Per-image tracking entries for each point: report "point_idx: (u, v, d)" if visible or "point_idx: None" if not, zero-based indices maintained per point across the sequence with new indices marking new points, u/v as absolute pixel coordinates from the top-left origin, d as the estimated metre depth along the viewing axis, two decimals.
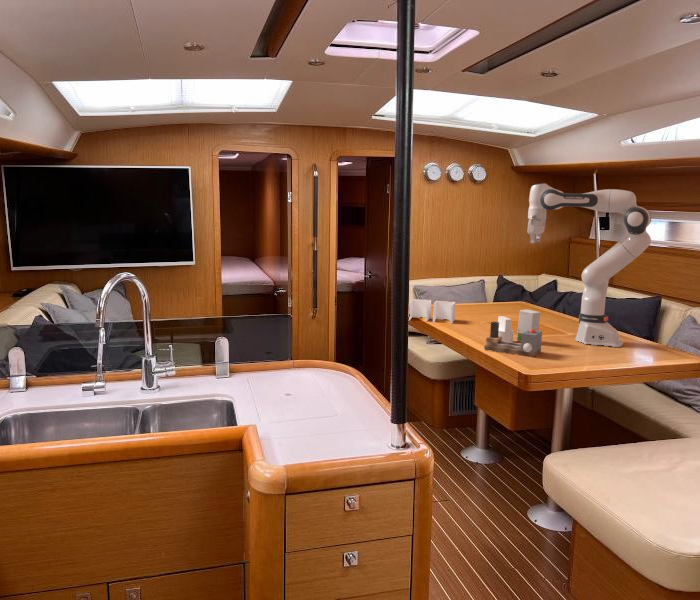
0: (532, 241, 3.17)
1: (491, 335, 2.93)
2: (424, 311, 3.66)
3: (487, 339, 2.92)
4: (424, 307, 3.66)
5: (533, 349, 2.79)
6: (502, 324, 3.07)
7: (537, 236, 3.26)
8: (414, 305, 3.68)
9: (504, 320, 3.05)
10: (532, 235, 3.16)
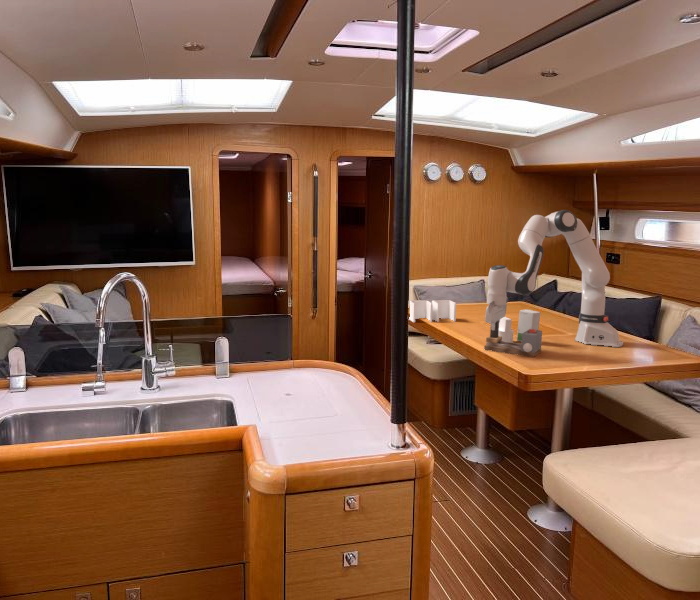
0: (492, 328, 2.91)
1: (491, 335, 2.93)
2: (420, 312, 3.64)
3: (487, 339, 2.92)
4: (420, 308, 3.64)
5: (533, 349, 2.79)
6: (502, 324, 3.07)
7: None
8: None
9: (504, 320, 3.05)
10: (492, 322, 2.89)
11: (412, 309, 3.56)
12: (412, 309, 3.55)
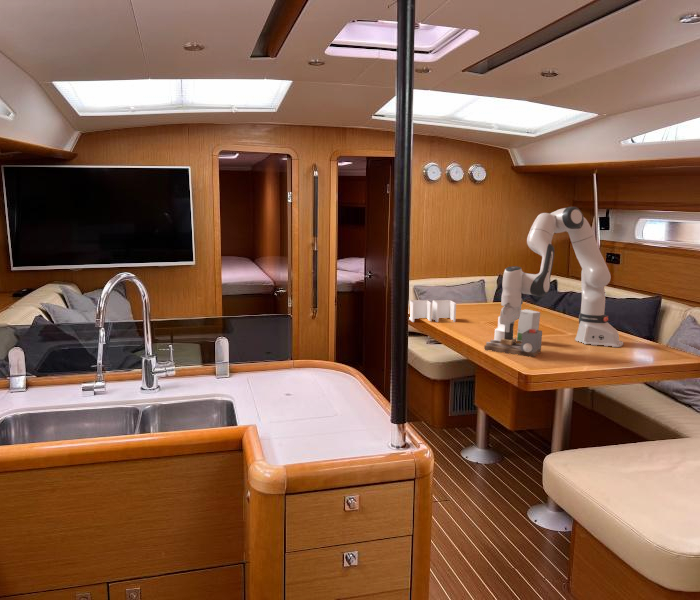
0: (507, 330, 2.87)
1: (505, 337, 2.89)
2: (421, 311, 3.64)
3: (501, 341, 2.88)
4: (421, 307, 3.64)
5: (533, 349, 2.79)
6: (502, 324, 3.07)
7: None
8: None
9: None
10: None
11: (411, 309, 3.56)
12: (411, 309, 3.55)
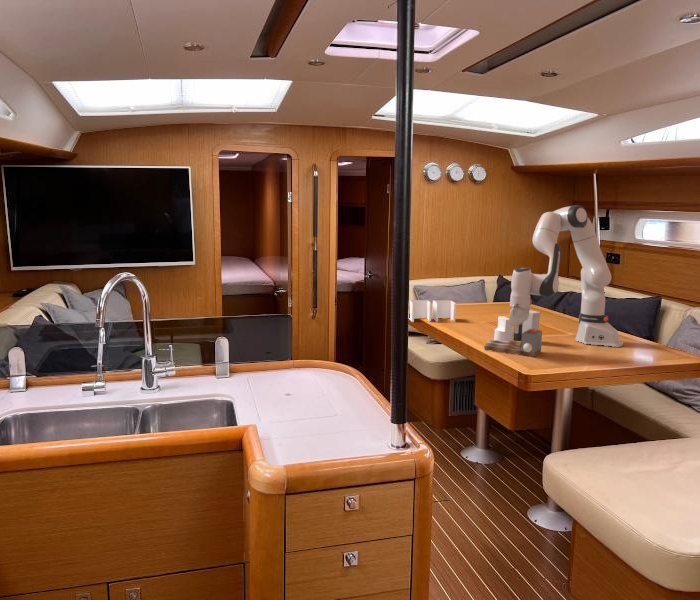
0: (516, 331, 2.85)
1: (514, 338, 2.87)
2: (421, 311, 3.65)
3: (510, 342, 2.86)
4: (421, 307, 3.64)
5: (533, 349, 2.79)
6: (502, 324, 3.07)
7: None
8: None
9: (504, 320, 3.05)
10: (516, 325, 2.84)
11: (411, 309, 3.57)
12: (411, 309, 3.56)
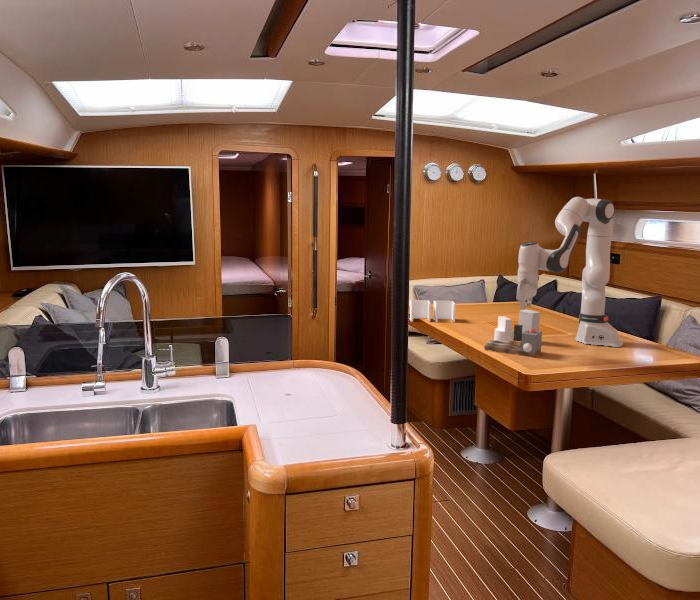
0: (522, 308, 2.80)
1: (514, 338, 2.87)
2: (421, 311, 3.65)
3: (510, 342, 2.86)
4: (421, 307, 3.65)
5: (533, 349, 2.79)
6: (502, 324, 3.07)
7: (528, 300, 2.89)
8: None
9: (504, 320, 3.05)
10: (522, 301, 2.78)
11: (410, 309, 3.58)
12: None
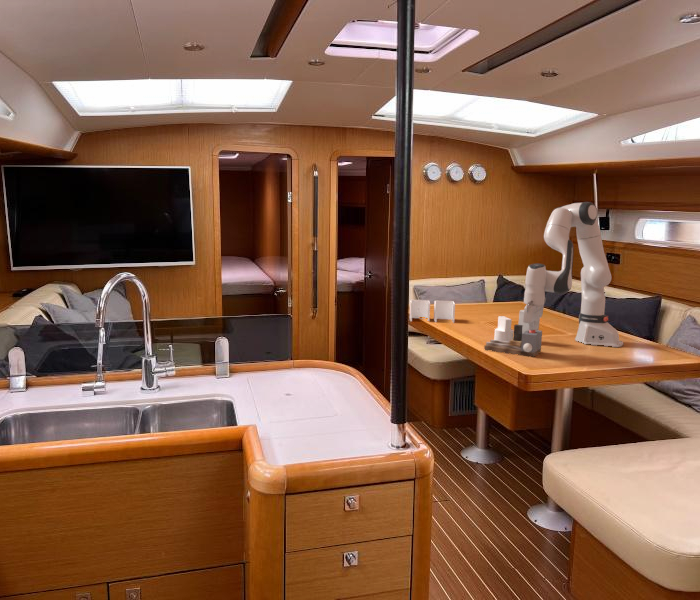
0: (531, 328, 2.83)
1: (514, 338, 2.87)
2: (422, 311, 3.65)
3: (510, 342, 2.86)
4: (422, 307, 3.65)
5: (533, 349, 2.79)
6: (502, 324, 3.07)
7: None
8: None
9: (504, 320, 3.05)
10: None
11: None
12: (410, 308, 3.58)
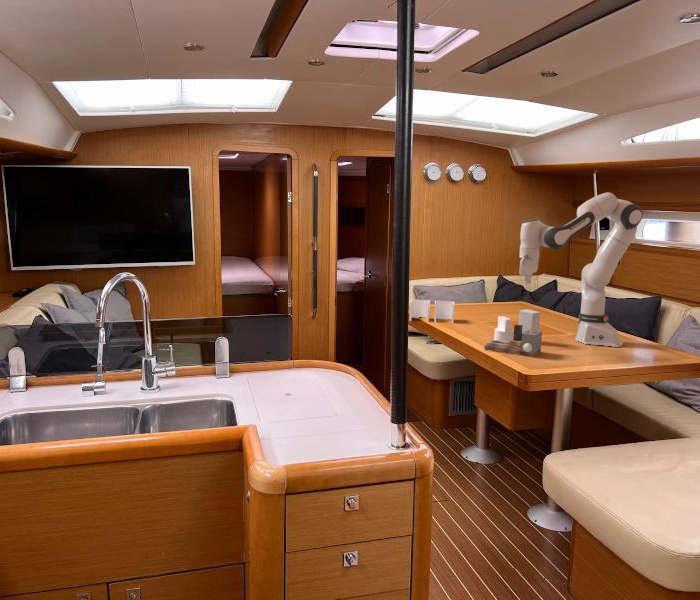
0: (527, 282, 2.94)
1: (514, 338, 2.87)
2: (423, 311, 3.66)
3: (510, 342, 2.86)
4: (423, 307, 3.65)
5: (533, 349, 2.79)
6: (502, 324, 3.07)
7: None
8: (413, 305, 3.66)
9: (504, 320, 3.05)
10: (527, 275, 2.92)
11: None
12: None
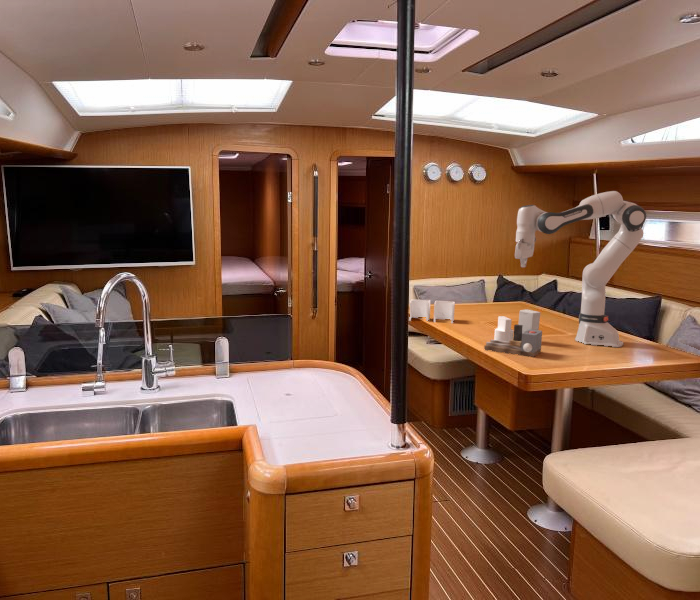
0: (522, 265, 3.03)
1: (514, 338, 2.87)
2: (423, 311, 3.66)
3: (510, 342, 2.86)
4: (423, 307, 3.66)
5: (533, 349, 2.79)
6: (502, 324, 3.07)
7: None
8: (413, 305, 3.67)
9: (504, 320, 3.05)
10: (522, 259, 3.02)
11: None
12: None
